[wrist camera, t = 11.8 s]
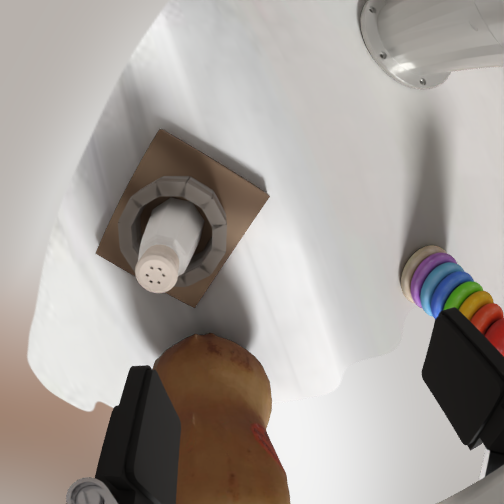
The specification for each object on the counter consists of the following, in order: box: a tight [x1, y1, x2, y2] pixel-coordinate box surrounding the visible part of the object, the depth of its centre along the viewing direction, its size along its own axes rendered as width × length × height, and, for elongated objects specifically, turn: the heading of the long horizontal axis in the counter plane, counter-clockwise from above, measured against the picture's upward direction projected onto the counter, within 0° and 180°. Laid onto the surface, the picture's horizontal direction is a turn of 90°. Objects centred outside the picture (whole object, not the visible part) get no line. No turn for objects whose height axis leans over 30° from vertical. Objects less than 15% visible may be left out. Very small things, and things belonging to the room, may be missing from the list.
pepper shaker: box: [135, 198, 204, 293], centre depth 24 cm, size 5×5×11 cm
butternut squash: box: [152, 333, 290, 504], centre depth 25 cm, size 14×13×25 cm
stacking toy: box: [401, 245, 504, 356], centre depth 27 cm, size 8×8×19 cm
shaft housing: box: [96, 129, 270, 308], centre depth 28 cm, size 14×12×5 cm
